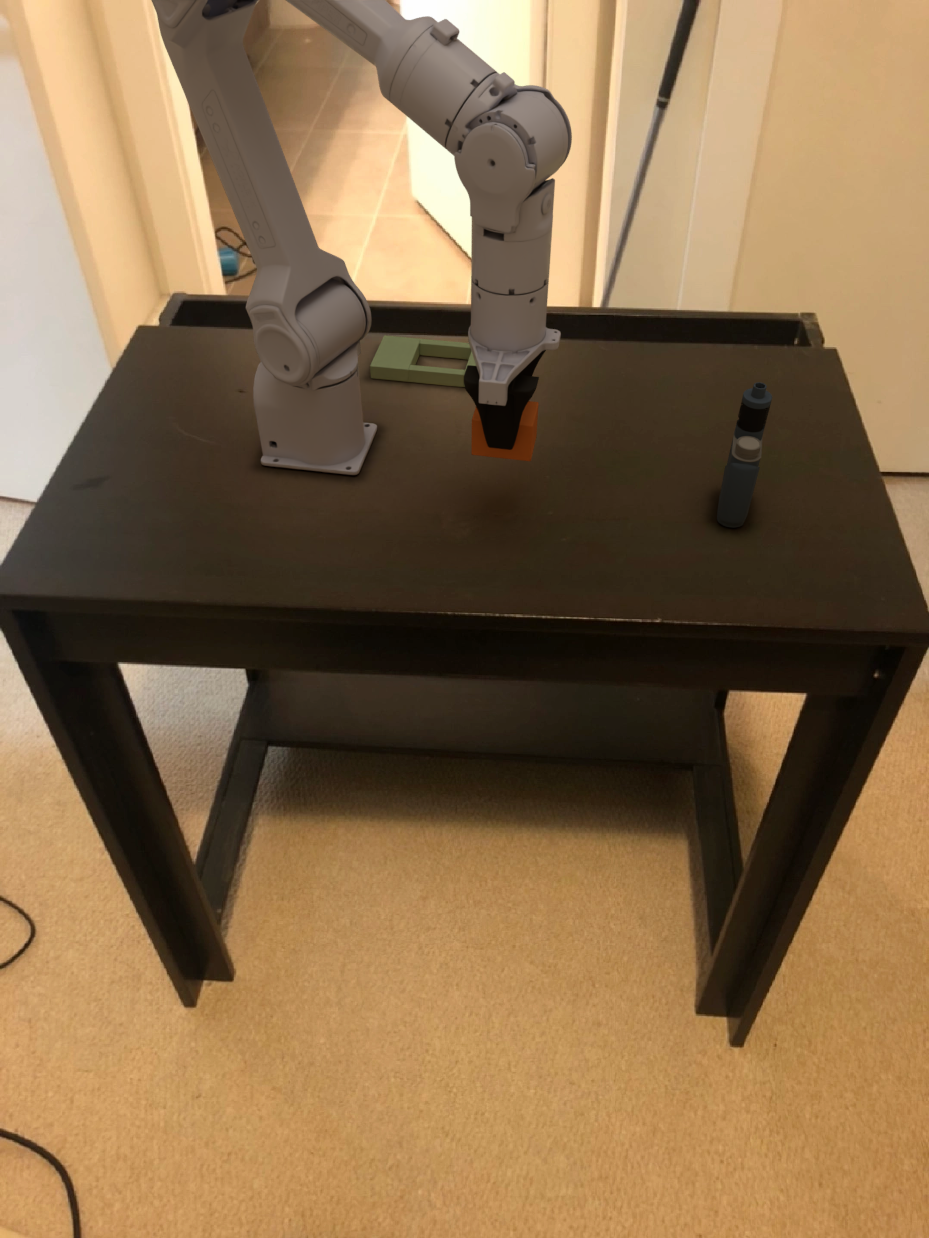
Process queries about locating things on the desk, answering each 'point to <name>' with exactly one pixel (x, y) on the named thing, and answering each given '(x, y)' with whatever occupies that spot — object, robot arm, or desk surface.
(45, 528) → the desk surface
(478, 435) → the orange rectangular block
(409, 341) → the base pad
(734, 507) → the vaping device
